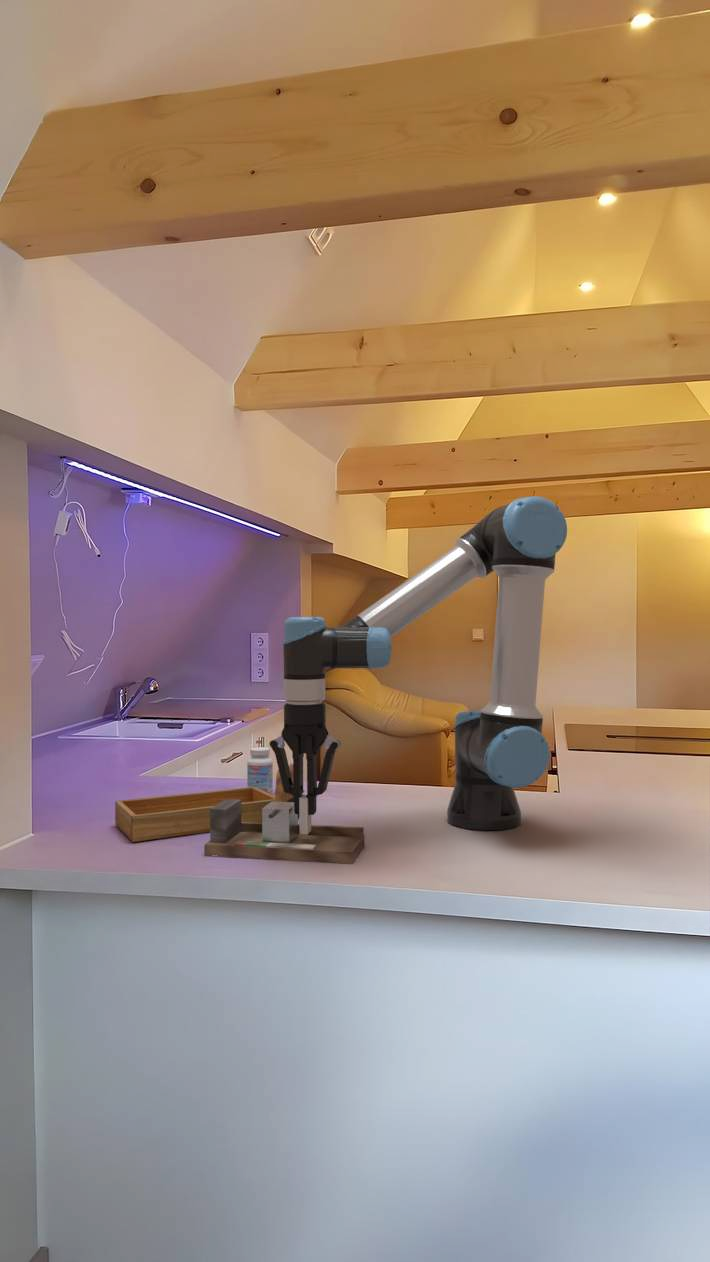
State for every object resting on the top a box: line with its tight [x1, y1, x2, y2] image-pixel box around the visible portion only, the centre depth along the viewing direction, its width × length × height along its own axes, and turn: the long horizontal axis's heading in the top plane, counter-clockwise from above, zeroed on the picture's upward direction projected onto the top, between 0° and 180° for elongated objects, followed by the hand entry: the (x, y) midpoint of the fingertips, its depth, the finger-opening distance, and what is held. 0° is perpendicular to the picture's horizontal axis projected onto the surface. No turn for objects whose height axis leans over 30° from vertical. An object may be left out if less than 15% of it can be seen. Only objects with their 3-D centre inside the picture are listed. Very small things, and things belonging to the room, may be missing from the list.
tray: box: [114, 786, 275, 843], centre depth 161 cm, size 31×15×6 cm, turn 119°
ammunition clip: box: [274, 762, 299, 819], centre depth 161 cm, size 11×2×12 cm, turn 164°
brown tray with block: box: [203, 799, 366, 865], centre depth 141 cm, size 27×11×8 cm, turn 78°
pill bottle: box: [246, 746, 274, 795], centre depth 187 cm, size 6×6×11 cm
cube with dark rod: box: [262, 801, 299, 843], centre depth 140 cm, size 5×9×6 cm, turn 168°
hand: (305, 832), depth 140 cm, fingers closed
